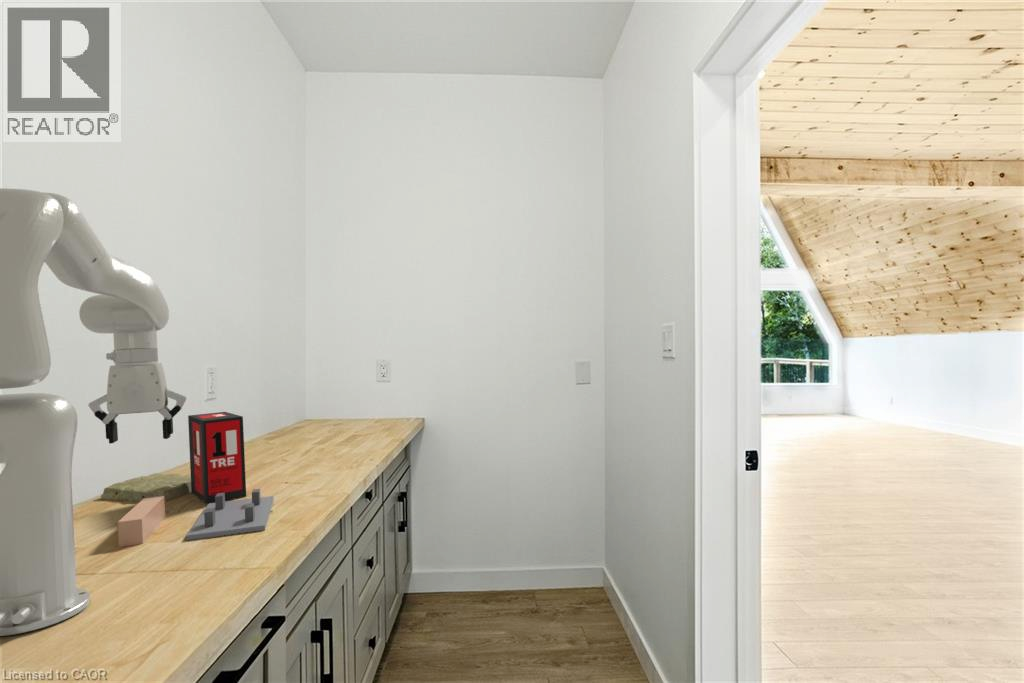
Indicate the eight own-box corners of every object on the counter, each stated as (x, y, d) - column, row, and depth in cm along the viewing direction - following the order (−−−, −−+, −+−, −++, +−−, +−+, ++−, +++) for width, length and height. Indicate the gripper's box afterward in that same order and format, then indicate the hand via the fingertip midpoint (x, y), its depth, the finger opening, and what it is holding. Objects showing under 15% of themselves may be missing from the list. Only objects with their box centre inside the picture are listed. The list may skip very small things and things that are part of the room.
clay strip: (143, 544, 112) (141, 519, 112) (118, 548, 111) (117, 521, 111) (165, 518, 129) (164, 496, 129) (144, 521, 128) (143, 498, 128)
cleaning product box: (246, 496, 145) (242, 416, 144) (206, 504, 139) (203, 420, 139) (228, 485, 157) (225, 411, 157) (191, 492, 151) (188, 415, 151)
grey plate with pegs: (264, 530, 117) (264, 510, 117) (186, 540, 113) (186, 520, 113) (273, 500, 140) (272, 483, 140) (209, 507, 136) (208, 490, 136)
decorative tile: (154, 484, 165) (153, 471, 165) (215, 485, 160) (215, 472, 160) (94, 502, 146) (93, 488, 146) (162, 504, 142) (161, 490, 142)
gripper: (80, 360, 114) (84, 447, 114) (179, 356, 119) (183, 439, 119) (94, 359, 121) (98, 441, 121) (187, 355, 126) (191, 433, 127)
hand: (140, 440), depth 120 cm, fingers open, 9 cm apart
